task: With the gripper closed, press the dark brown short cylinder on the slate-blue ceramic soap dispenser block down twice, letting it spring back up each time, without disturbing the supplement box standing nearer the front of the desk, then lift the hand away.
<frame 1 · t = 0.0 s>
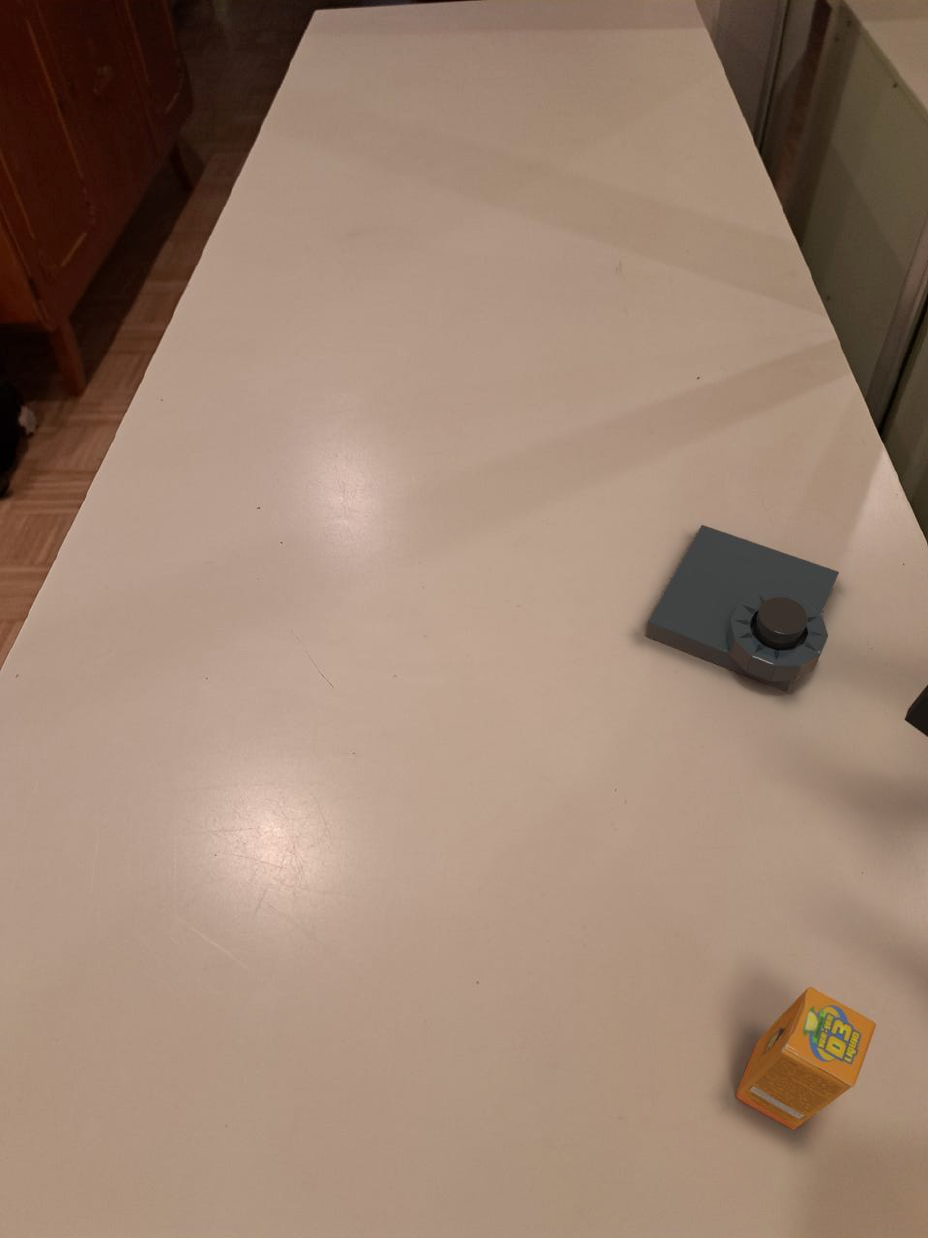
supplement box: (777, 1087, 48), on the table
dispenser: (740, 611, 66), on the table
dark brown short cylinder: (780, 623, 61), point 4 cm above the table, slide at 0.1 cm
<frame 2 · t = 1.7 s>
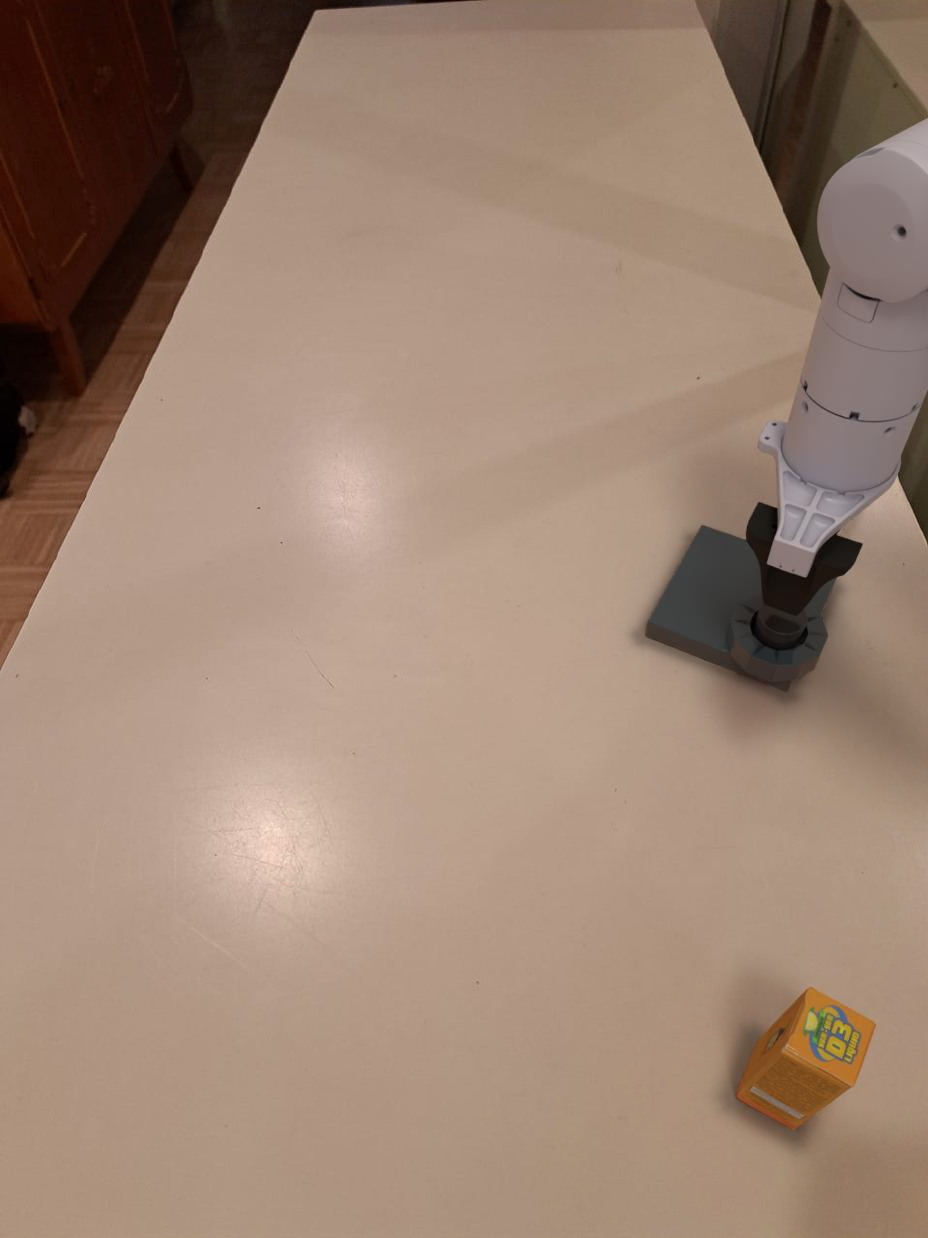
hand: (799, 567, 56), 9 cm above the table, tool pointing down, fingers open, 6 cm apart
nothing on the table moved.
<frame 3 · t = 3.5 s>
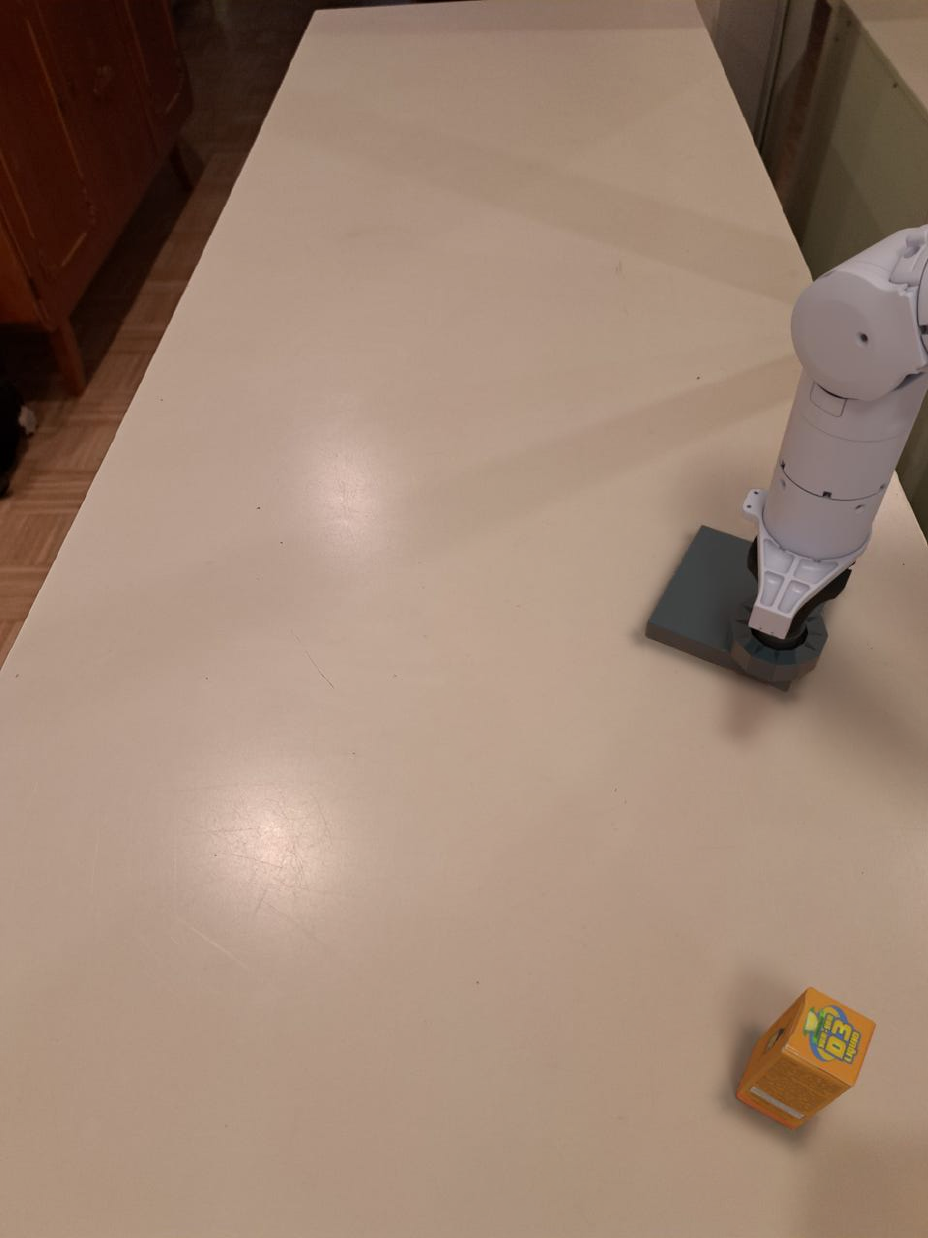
hand: (781, 620, 61), 4 cm above the table, tool pointing down, fingers closed, pressing on dark brown short cylinder
dark brown short cylinder: (778, 628, 61), point 3 cm above the table, slide at -0.5 cm, touching gripper
everything else where it was.
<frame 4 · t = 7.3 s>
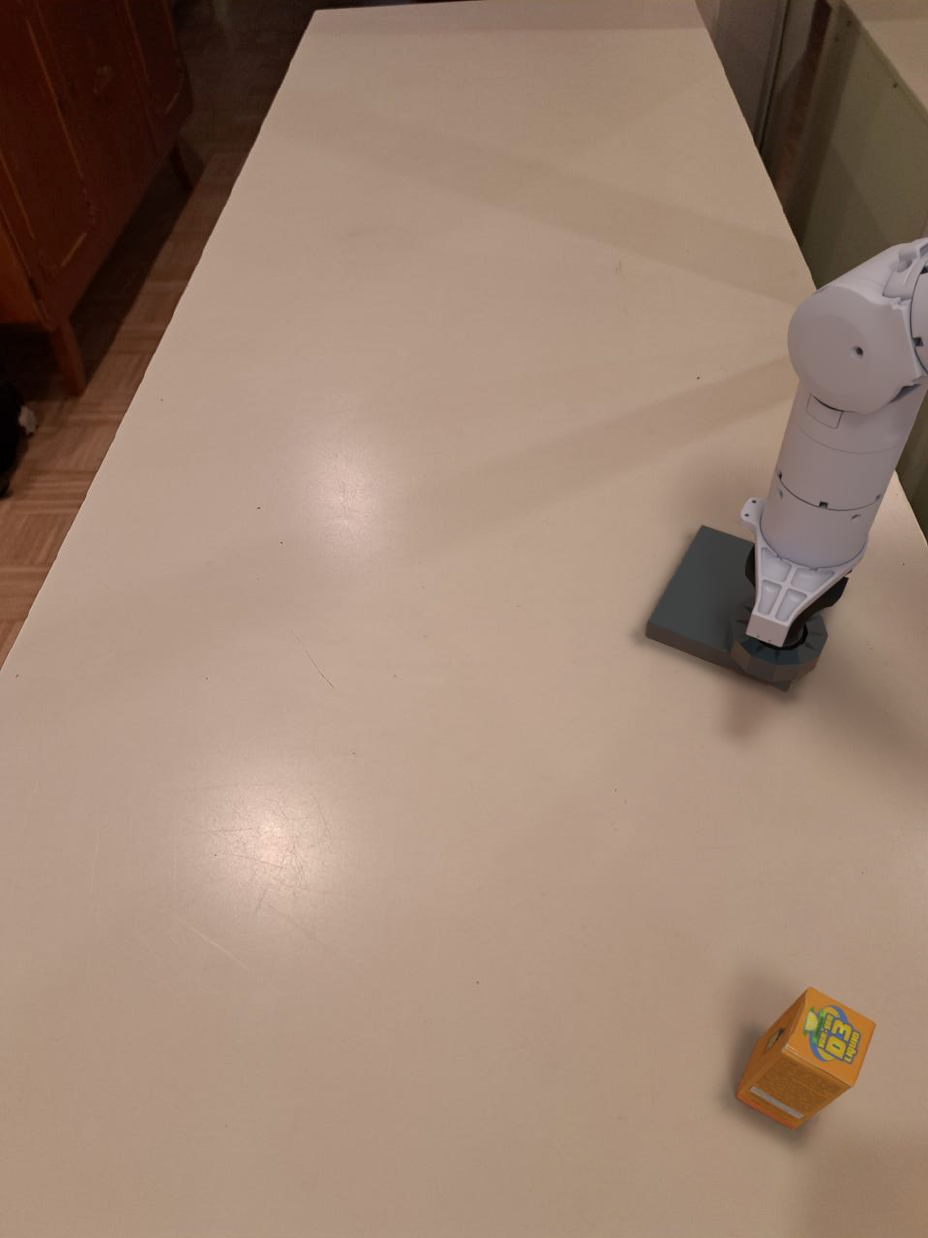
hand: (778, 626, 61), 4 cm above the table, tool pointing down, fingers closed, pressing on dark brown short cylinder
dark brown short cylinder: (776, 634, 62), point 3 cm above the table, slide at -1.2 cm, touching gripper
everything else where it was.
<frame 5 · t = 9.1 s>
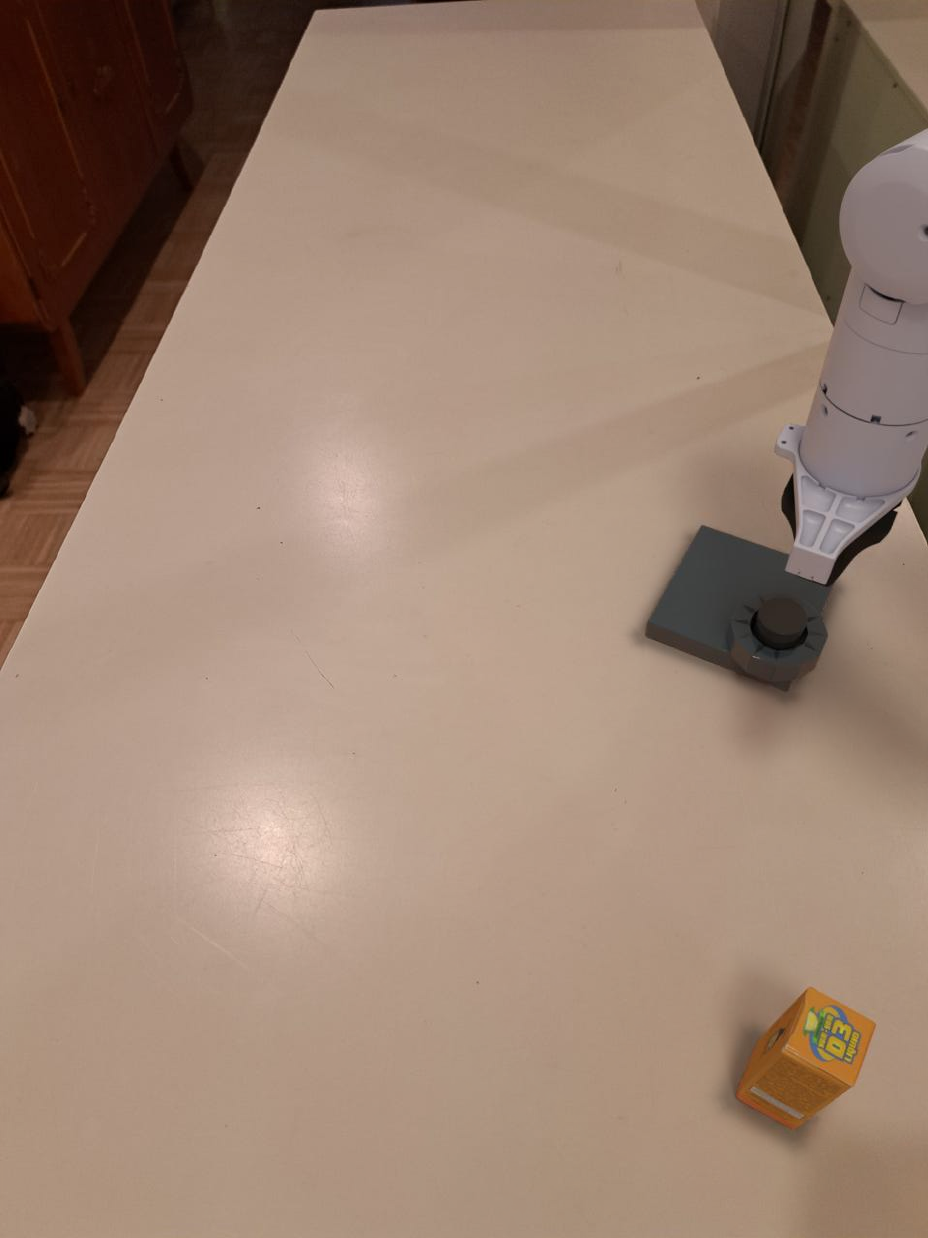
hand: (815, 573, 56), 10 cm above the table, tool pointing down, fingers closed
dark brown short cylinder: (780, 623, 61), point 4 cm above the table, slide at 0.1 cm
everything else where it was.
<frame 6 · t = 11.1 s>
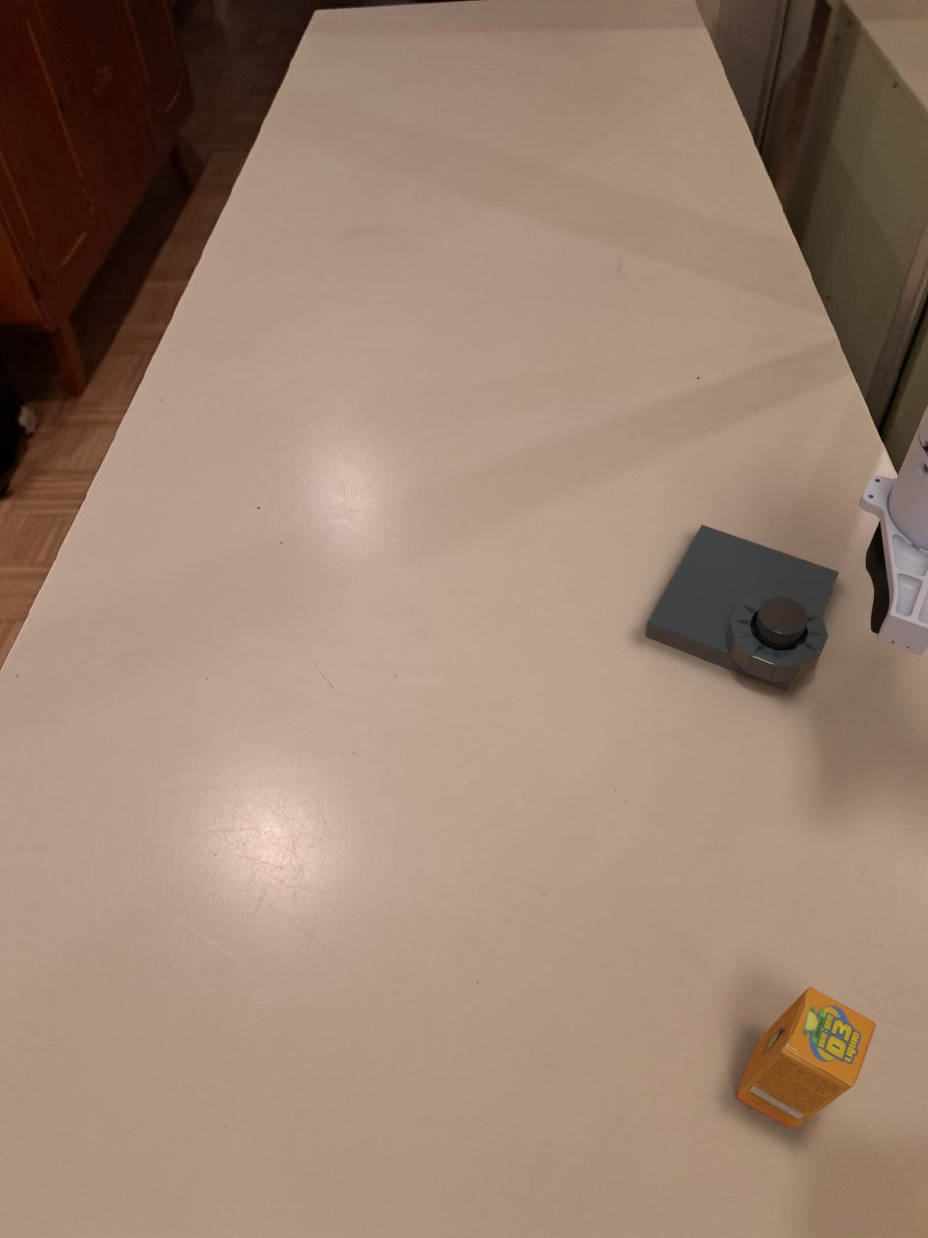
hand: (892, 629, 52), 10 cm above the table, tool pointing down, fingers closed
nothing on the table moved.
at the end: dark brown short cylinder pushed in 1.2 cm at the most during the clip, back to where it started at the end; dark brown short cylinder slide at 0.1 cm; supplement box moved 0.2 cm from its start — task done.
